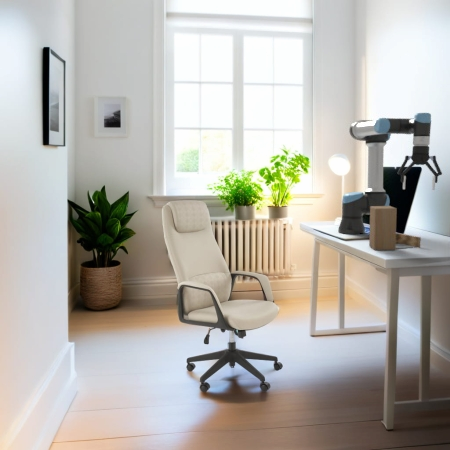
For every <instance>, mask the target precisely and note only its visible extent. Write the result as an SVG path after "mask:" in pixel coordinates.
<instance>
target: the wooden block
mask: <svg viewBox="0 0 450 450" xmlns="http://www.w3.org/2000/svg"><path fill="white" fill-rule="evenodd" d="M397 209H398V208H397V207H394V206H391V205H389V206H371V207H370V214H369V242H368V245H369V246H368V247H370V248H371V249H373V250H374V251H395V250H396V249H395V245H396V233H397V214H398V213H397V212H398V211H397Z"/></svg>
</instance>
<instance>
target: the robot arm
mask: <svg viewBox="0 0 450 450" xmlns="http://www.w3.org/2000/svg"><path fill="white" fill-rule="evenodd" d="M431 129H432V114H431V113H429V112H417V113H415V114H414V117H413V118H400V117H399V118H389V117H387V118H386V117H382V118H381V117H380V118H377V119H375V120H374V119H373V120H372V119H371V120H370V119H369V120H368V119H367V120H366V119H365V120H364V119H359V120H356V121H354V122H352V123H351V125H350V126H349V134H350V136H351V138H353V139H354V140H357V141H362V142H363V141H365V146H367V188H366V190H365V191H364V192H363V191H353V192H347V193H344V194H343V195H342V201H341V202H342V204H341V220H340V223H339V226H338V229H337V231H338V233H340V234H345V235H361V234H360V233H364V234H365V233H366V228H365V225H364V221H363V216H364V215H370V207H371V206H390V197H389V194H387V192H386V189H384V151H385V150H384V148H385V146H386V145H387V142H388V141H389V140H390V139H391V136H392V134H395V135H396V134H397V135H399V134H400V135H401V134H402V135H412V134H413V139H412V145H413V146H412V153H411V155H405V157H404V161H403V162H402V163H401V166H400V167H399V169H398V170H397V174H398V175H399V176H400V182H401V183H402V190H406V180H407V176H406V174H407V173H408V172H409V171H410V170H411V169H412V167H414V166H415V165H416V166H419V165H420V166H421V165H422V166H424V165H425V166H426V167H427V168H428V170H429V171H430V172H431V173H432V174H433V176H432V180H431V190H432V191H435V189H436V188H435V187H436V184H438V180H439V179H438V178H439V176H442V175H443V172H442V170H441V168H440V166H439V164H438V162H437V156H436V155H430V143H431V142H430V140H431ZM410 160H412V161H411V163H410V164H409V165H408V166H407V167H406V168H405V166H406V165H407V163H408V162H409V161H410ZM429 160H431V161H432V163H433V165H434V168H435V169H434V168H433V166H432V165H431V164H430V163H429ZM404 168H405V169H404Z"/></svg>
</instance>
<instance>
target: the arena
mask: <svg viewBox="0 0 450 450" xmlns="http://www.w3.org/2000/svg"><path fill="white" fill-rule="evenodd" d="M413 247H414V248H417V247H419V248H421V236H415V235H410V234H406V233H400V232H396V245H395V250H401V249H413Z"/></svg>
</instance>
